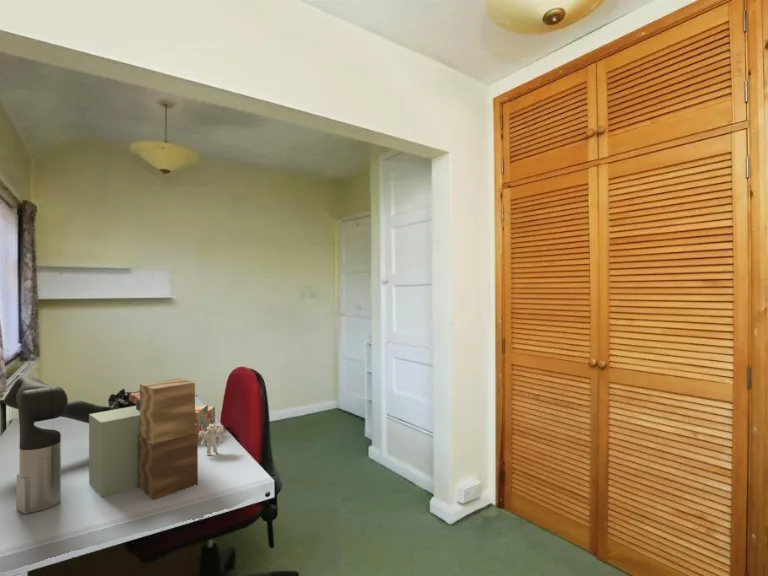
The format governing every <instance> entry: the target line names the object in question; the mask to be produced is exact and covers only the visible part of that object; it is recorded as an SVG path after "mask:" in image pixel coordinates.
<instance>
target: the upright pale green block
mask: <svg viewBox="0 0 768 576" xmlns="http://www.w3.org/2000/svg"><path fill="white" fill-rule="evenodd" d="M138 435H140V411H139V410H137V409H136V406H132V407H126V408H121V409H115V410H110V411H104V412H99V413H93V414H89V423H88V483H89V486H91V487H92V488H93V489H94V491H96V492H97V493H96V494H98V495H99V496H100V497H101V498H102V497H106V496H108V495H112V494H116V493H118V492H121V491H125V490H128V489H131V488H134V487H138Z"/></svg>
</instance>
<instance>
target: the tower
mask: <svg viewBox="0 0 768 576" xmlns="http://www.w3.org/2000/svg"><path fill="white" fill-rule="evenodd" d="M139 390H140V435H138V486H137V488H139V489H140V490H141V491H142V492H143V493H144V494H146V495H147V496H148V497H149V498H150V499H151V500H152V501H154V500H158V499H160V498H164V497H166V496H169V495H172V494H175V493H178V492H181V491H184V490H187V489H190V488H192V487H191V486H193V487H195V486H194V485H196V486H198V485H199V483H198V481H199V475H198V474H199V471H198V469H199V467H198V466H199V465H198V461H199V460H198V459H199V457H198V450H199V449H198V446H199V445H198V444H199V441H198V435H197V433H195V405H196V382H195V381H190V380H186V379H183V378H181V377H180V378H172V379H164V380H159V381H153V382H151V381H150V382H145V383H140V384H139ZM197 484H198V485H197ZM189 487H190V488H189ZM186 488H187V489H186ZM183 489H184V490H183ZM180 490H181V491H180Z"/></svg>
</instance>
